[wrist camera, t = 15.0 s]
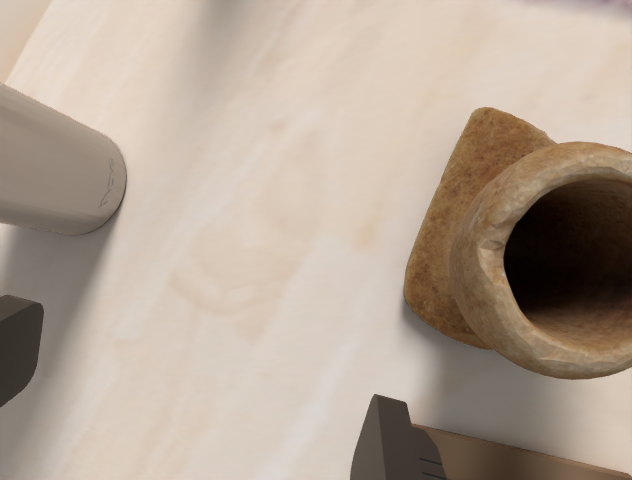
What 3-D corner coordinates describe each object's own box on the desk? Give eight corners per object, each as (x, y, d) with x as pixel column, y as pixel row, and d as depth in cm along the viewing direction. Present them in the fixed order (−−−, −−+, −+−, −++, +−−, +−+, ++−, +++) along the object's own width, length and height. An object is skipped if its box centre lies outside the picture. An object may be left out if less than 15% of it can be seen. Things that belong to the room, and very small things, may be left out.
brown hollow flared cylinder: (547, 382, 32) (657, 458, 17) (384, 304, 35) (359, 313, 20) (641, 176, 32) (827, 79, 17) (471, 115, 35) (508, -12, 20)
